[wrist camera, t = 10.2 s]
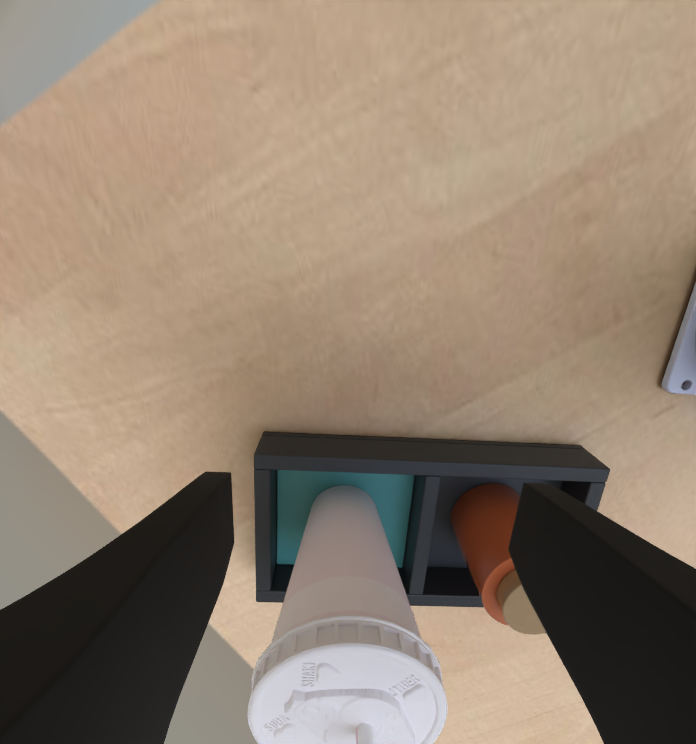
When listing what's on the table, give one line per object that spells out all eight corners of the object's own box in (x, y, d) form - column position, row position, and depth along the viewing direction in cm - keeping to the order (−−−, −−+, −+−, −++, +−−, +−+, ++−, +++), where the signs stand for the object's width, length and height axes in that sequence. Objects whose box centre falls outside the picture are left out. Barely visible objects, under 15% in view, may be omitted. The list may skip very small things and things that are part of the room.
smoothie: (367, 573, 22) (412, 1054, 9) (267, 535, 21) (149, 1014, 8) (421, 490, 21) (575, 928, 7) (315, 445, 20) (268, 858, 6)
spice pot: (533, 484, 21) (604, 568, 15) (518, 548, 22) (577, 646, 17) (456, 481, 21) (499, 564, 15) (444, 545, 22) (480, 644, 17)
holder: (262, 431, 20) (253, 454, 18) (581, 445, 21) (611, 469, 18) (264, 567, 23) (255, 602, 20) (544, 574, 23) (566, 609, 21)
